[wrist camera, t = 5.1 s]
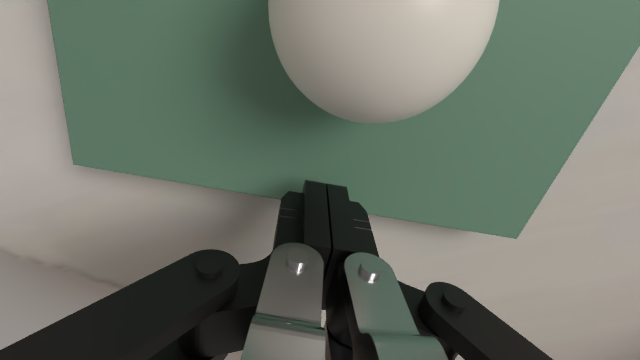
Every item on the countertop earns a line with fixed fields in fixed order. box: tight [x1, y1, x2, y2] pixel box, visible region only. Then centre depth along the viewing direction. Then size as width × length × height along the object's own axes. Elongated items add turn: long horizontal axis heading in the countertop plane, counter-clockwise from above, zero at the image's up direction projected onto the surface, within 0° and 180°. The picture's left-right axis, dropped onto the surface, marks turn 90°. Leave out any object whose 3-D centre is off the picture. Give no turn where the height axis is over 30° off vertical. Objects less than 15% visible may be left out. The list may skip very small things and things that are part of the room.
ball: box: [268, 0, 499, 124], centre depth 7 cm, size 5×5×5 cm
